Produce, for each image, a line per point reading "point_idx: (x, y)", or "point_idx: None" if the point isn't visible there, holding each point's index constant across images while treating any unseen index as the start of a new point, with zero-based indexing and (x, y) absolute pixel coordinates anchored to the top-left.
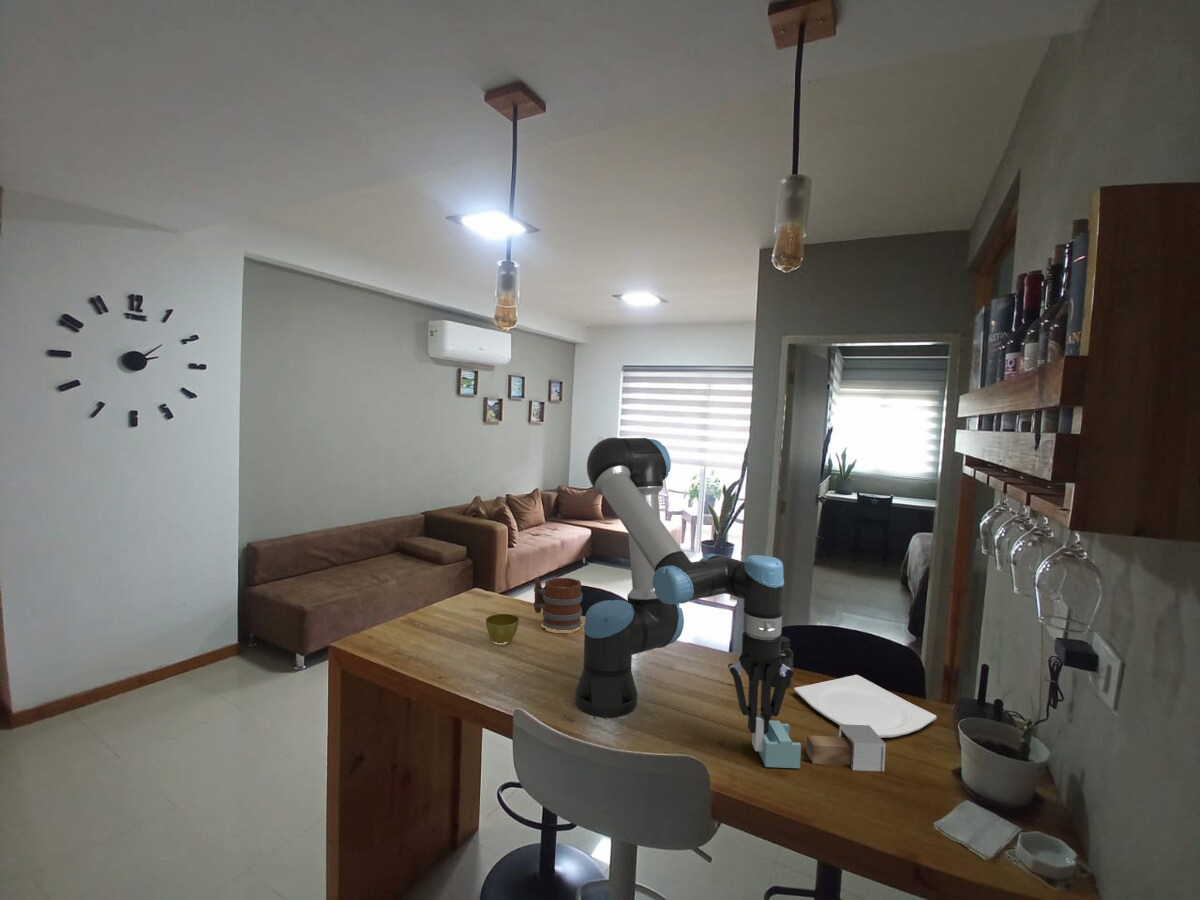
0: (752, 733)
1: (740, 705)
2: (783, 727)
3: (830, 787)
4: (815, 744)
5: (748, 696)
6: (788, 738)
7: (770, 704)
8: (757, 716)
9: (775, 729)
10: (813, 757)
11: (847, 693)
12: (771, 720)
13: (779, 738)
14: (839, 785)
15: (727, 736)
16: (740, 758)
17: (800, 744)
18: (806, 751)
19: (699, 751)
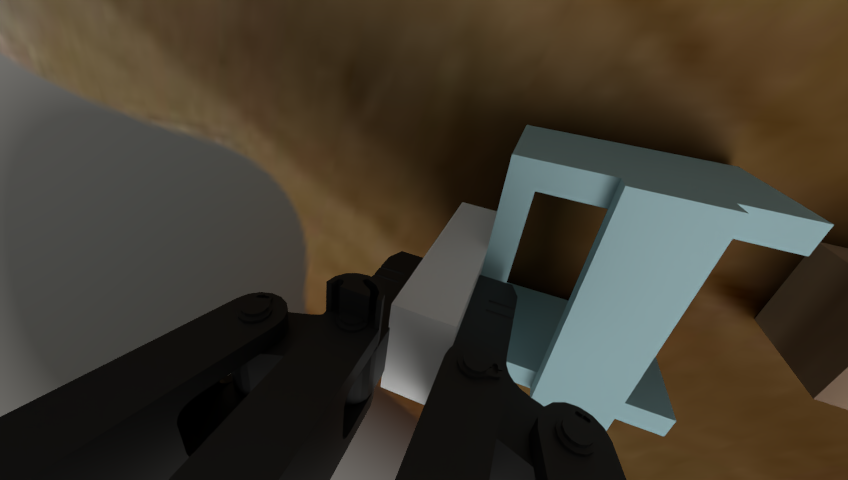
0: (446, 227)
1: (183, 413)
2: (685, 307)
3: (679, 434)
4: (842, 398)
5: (218, 427)
6: (609, 403)
7: (538, 476)
8: (405, 358)
9: (588, 311)
10: (774, 341)
11: None
12: (656, 196)
13: (546, 384)
14: (734, 442)
15: (409, 7)
16: (409, 207)
17: (666, 431)
18: (823, 246)
19: (260, 131)
